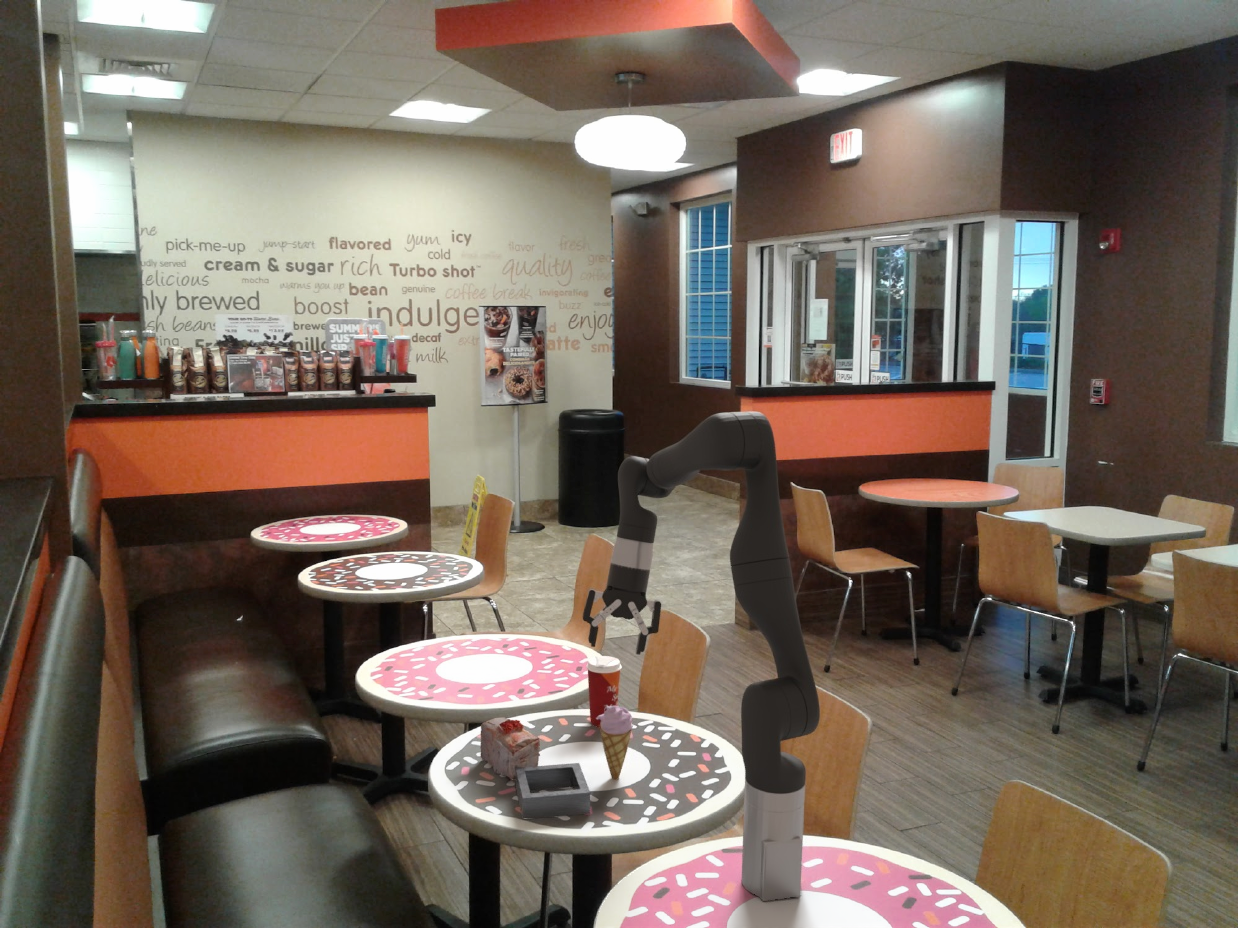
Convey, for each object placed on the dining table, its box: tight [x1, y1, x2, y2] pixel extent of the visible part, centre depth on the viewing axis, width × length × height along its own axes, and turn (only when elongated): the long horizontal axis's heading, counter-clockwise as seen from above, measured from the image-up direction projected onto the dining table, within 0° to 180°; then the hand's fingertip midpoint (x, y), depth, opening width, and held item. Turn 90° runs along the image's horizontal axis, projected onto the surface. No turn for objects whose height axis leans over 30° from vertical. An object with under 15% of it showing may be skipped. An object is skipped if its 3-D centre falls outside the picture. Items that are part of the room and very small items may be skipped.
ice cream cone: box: [596, 705, 634, 781], centre depth 190 cm, size 7×6×15 cm
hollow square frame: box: [515, 762, 591, 819], centre depth 182 cm, size 12×12×4 cm
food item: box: [480, 717, 541, 781], centre depth 194 cm, size 14×8×10 cm, turn 39°
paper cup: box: [585, 655, 622, 728], centre depth 216 cm, size 8×8×14 cm
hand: (615, 650), depth 185 cm, fingers open, 8 cm apart
